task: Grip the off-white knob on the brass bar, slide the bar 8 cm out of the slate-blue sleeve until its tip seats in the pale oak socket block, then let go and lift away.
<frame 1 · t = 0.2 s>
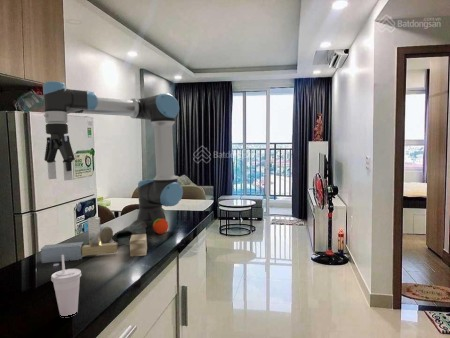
hand: (60, 179, 128), 28 cm above the countertop, fingers open, 13 cm apart
ceramic mug: (102, 242, 142), on the countertop
sleeve: (44, 260, 119), on the countertop
smoothie: (68, 314, 79), on the countertop
clementine: (160, 234, 152), on the countertop
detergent: (133, 239, 146), on the countertop
socket block: (138, 244, 125), on the countertop
brass bar: (83, 236, 121), point 8 cm above the countertop, slide at 0.0 cm
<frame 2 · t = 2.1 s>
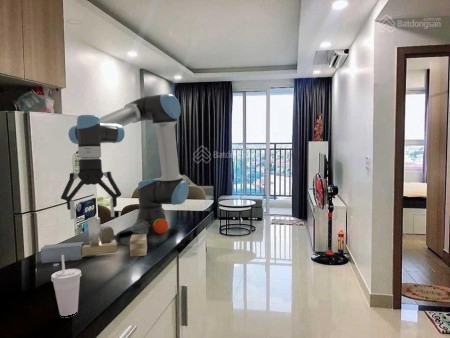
hand: (93, 217, 121), 14 cm above the countertop, fingers open, 13 cm apart
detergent: (136, 239, 146), on the countertop
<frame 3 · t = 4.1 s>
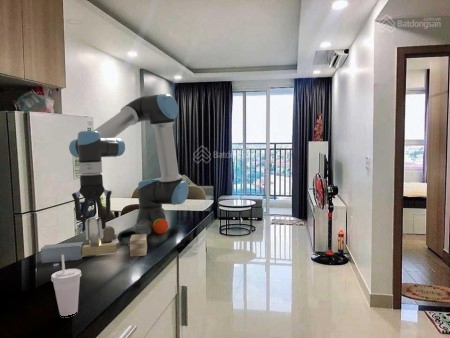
hand: (94, 238, 122), 7 cm above the countertop, fingers closed on brass bar, 4 cm apart
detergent: (139, 239, 146), on the countertop
brass bar: (83, 236, 121), point 8 cm above the countertop, slide at 0.0 cm, touching gripper
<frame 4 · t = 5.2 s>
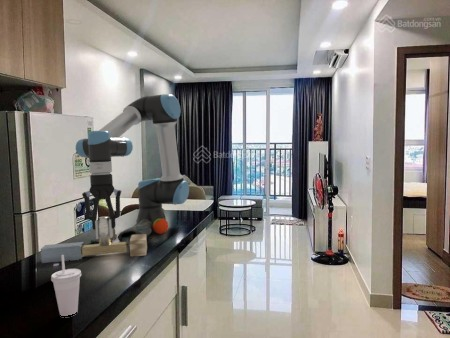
hand: (104, 237, 123), 7 cm above the countertop, fingers closed on brass bar, 4 cm apart
brass bar: (93, 236, 122), point 8 cm above the countertop, slide at 3.4 cm, touching gripper
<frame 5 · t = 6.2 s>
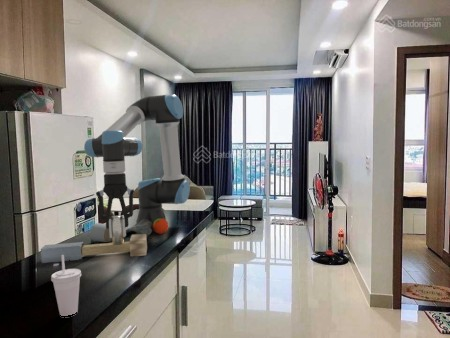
hand: (118, 236, 123), 7 cm above the countertop, fingers closed on brass bar, 4 cm apart
brass bar: (106, 234, 123), point 8 cm above the countertop, slide at 8.0 cm, touching gripper
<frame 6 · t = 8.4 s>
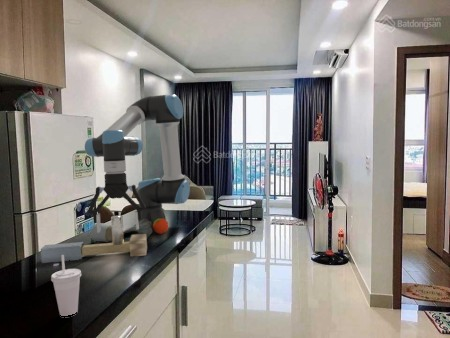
hand: (118, 230, 123), 9 cm above the countertop, fingers open, 13 cm apart
clementine: (160, 234, 152), on the countertop, touching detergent
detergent: (140, 238, 146), on the countertop, touching clementine
brass bar: (106, 234, 123), point 8 cm above the countertop, slide at 8.0 cm
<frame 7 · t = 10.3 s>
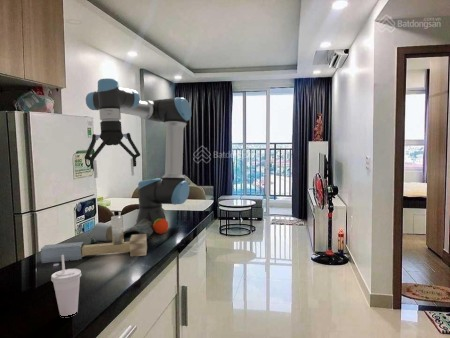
hand: (114, 176, 129), 28 cm above the countertop, fingers open, 13 cm apart
clementine: (160, 234, 152), on the countertop
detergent: (140, 238, 146), on the countertop
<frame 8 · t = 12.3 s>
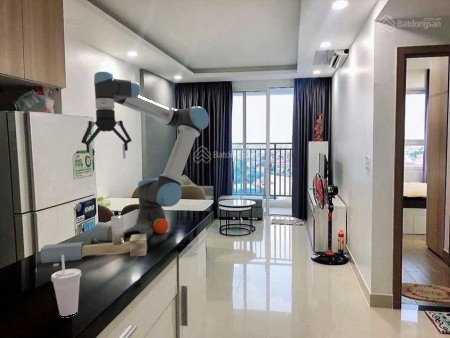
hand: (108, 159, 144), 35 cm above the countertop, fingers open, 13 cm apart
at the end: brass bar slide at 8.0 cm; the gripper is holding nothing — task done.
